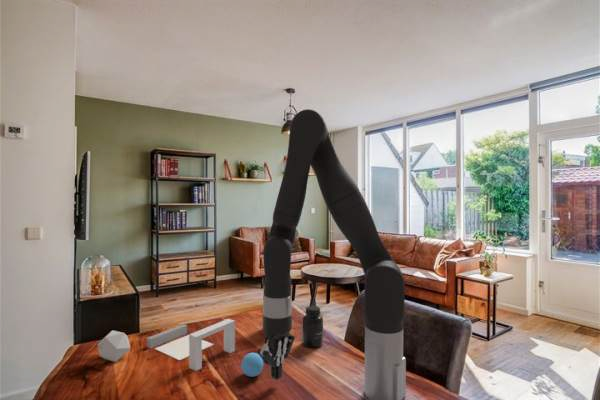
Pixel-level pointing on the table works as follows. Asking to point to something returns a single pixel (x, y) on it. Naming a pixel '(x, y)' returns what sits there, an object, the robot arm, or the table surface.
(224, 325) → the bridge
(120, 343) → the die
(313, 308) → the supplement bottle
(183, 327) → the wall
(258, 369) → the ball
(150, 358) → the table surface
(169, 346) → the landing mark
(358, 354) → the table surface
